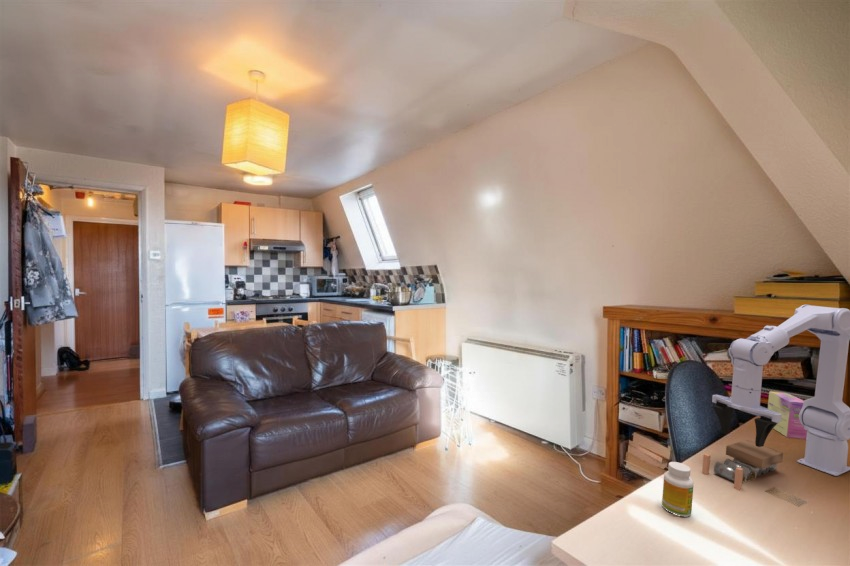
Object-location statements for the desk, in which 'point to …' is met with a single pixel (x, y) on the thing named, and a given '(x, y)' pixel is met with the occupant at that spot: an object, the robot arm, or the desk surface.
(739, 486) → the stop posts
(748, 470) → the roller
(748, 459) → the slab
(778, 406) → the box
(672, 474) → the supplement bottle
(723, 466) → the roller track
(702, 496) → the desk surface
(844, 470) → the robot arm
